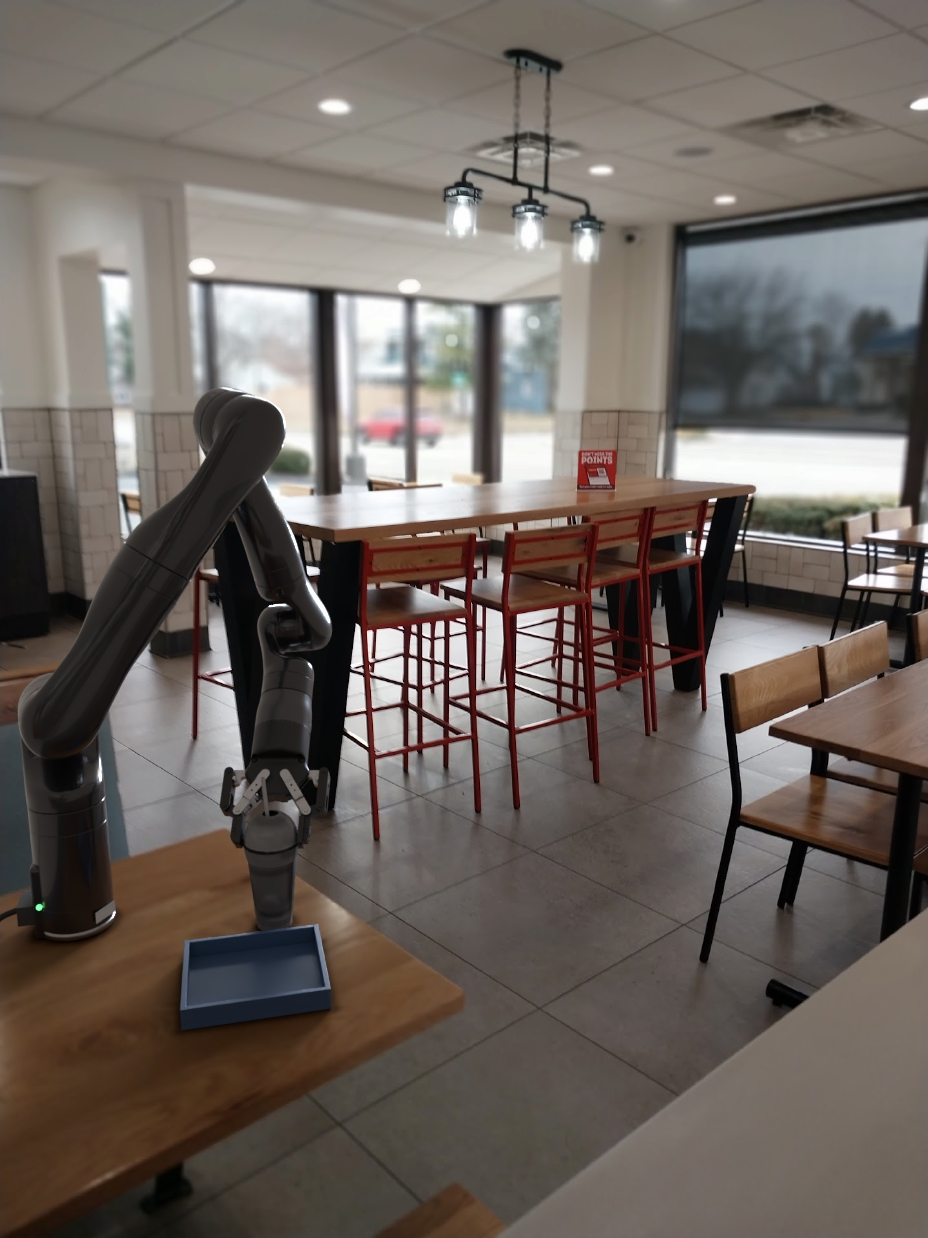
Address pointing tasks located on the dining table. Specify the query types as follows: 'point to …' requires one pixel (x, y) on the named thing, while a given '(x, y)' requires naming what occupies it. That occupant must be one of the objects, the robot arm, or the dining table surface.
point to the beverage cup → (272, 865)
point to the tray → (253, 977)
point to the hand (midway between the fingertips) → (269, 846)
